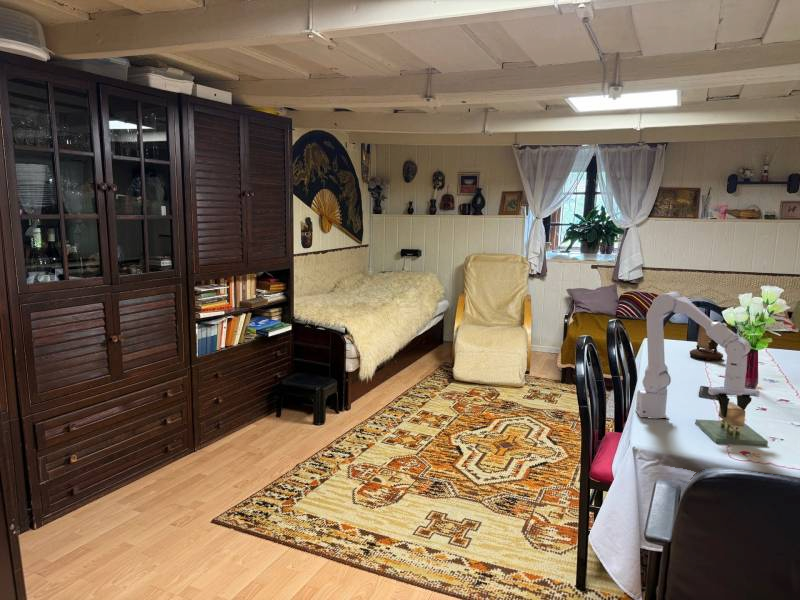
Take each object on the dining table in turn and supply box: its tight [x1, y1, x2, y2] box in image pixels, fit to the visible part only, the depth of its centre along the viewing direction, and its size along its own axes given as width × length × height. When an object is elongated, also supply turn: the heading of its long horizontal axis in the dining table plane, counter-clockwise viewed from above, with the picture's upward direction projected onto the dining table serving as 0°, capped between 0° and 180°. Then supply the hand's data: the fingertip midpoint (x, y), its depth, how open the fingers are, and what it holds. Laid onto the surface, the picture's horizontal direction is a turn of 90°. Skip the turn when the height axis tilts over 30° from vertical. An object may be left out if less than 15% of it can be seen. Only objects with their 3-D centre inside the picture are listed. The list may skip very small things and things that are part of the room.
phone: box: [698, 385, 718, 401], centre depth 228 cm, size 8×1×15 cm
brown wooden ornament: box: [689, 319, 724, 362], centre depth 285 cm, size 15×15×20 cm
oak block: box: [718, 401, 746, 426], centre depth 184 cm, size 4×9×5 cm, turn 172°
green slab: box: [694, 418, 769, 447], centre depth 185 cm, size 15×17×4 cm
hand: (731, 416), depth 184 cm, fingers closed on oak block, 4 cm apart
